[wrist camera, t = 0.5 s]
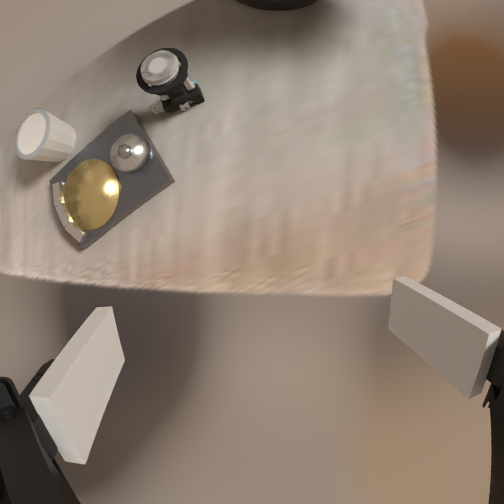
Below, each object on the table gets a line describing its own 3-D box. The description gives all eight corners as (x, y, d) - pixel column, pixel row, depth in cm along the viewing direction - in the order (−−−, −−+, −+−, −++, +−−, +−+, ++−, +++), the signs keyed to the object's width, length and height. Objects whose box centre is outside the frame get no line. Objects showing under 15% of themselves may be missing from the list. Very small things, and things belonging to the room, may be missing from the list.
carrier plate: (135, 113, 35) (121, 103, 31) (174, 181, 35) (163, 176, 31) (55, 182, 37) (37, 179, 32) (86, 248, 37) (68, 251, 33)
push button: (160, 130, 35) (125, 103, 25) (150, 96, 35) (117, 63, 25) (210, 110, 34) (190, 75, 24) (199, 76, 34) (177, 35, 24)
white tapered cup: (87, 136, 36) (57, 124, 29) (59, 175, 36) (27, 170, 29) (64, 112, 36) (35, 98, 29) (38, 149, 36) (8, 141, 29)
